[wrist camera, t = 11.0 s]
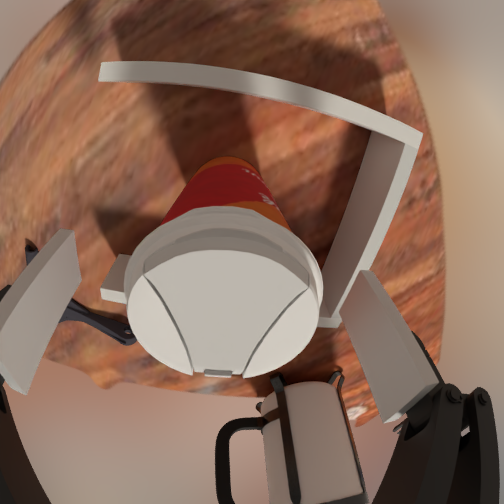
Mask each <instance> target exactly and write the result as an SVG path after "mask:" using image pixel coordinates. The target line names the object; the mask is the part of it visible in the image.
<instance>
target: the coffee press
mask: <svg viewBox="0 0 504 504" xmlns="http://www.w3.org/2000/svg"><path fill="white" fill-rule="evenodd" d="M339 375H341V377H340V379H339V382H338V385H337V389H336V388H335V387H334V386H332V384H333V382H334V381H335V379H336V377H337V376H339ZM344 379H345V377H344V375H343V374H342V373H341V372H340V371H336V372H334V373H333V375H332V376H331V378H330V379H329V381H328V382H326V383H325V382H317V381H311V382H301V383H296V384H292V385H288V384H287V383H286V381H285V379H284V377H283V375H282V374H281V373H280V372H278V373H276V374H273V375H271V376H270V381H271V383H272V386H273V388H274V390H275V391H274V392H272V393H271V394H270V395H268V396H267V397H266V398H265V399H264V401H263V403H262V402H259V403H258V404H257V405H256V409H257V410H258V411H259V412H260V413H261V417H251V418H239V419H235V420H232V421H229V422H228V423H226V424H225V425H224V426H223V427H222V428H221V429H220V431H219V433H218V436H217V439H216V446H215V478H216V493H217V499H218V502H219V504H235V503H234V501H233V499H232V495H231V485H230V462H229V440H230V438H231V436H232V435H233V434H234V433H235V432H237V431H240V430H252V429H253V430H254V429H257V430H261V433H262V435H263V441H264V450H265V461H266V470H267V481H268V490H269V500H270V504H367V503H369V499H368V495H367V492H366V489H365V482H364V478H363V474H362V470H361V466H360V462H359V458H358V454H357V450H356V446H355V442H354V438H353V435H352V431H351V427H350V423H349V420H348V416H347V413H346V409H345V405H344V402H343V398H342V394H341V387H342V384H343V382H344Z"/></svg>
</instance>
